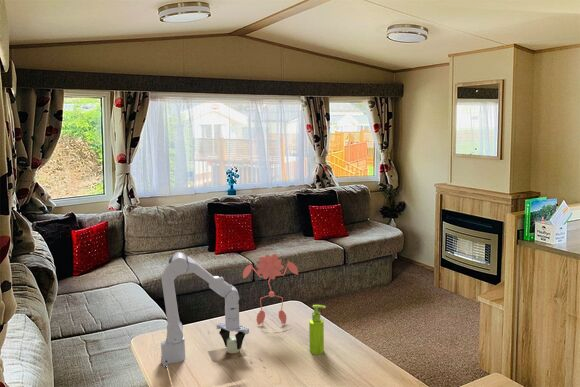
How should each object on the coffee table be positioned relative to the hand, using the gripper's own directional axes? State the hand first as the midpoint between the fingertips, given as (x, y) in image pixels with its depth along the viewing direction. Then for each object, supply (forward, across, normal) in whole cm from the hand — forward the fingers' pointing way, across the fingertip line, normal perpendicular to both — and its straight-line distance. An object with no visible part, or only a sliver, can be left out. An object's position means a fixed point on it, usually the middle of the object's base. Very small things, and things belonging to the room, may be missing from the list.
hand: (233, 347), depth 203 cm
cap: (+1, 0, 0) cm, 1 cm away
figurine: (+3, -3, -30) cm, 30 cm away
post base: (+3, +1, +3) cm, 4 cm away
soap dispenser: (+3, -32, -15) cm, 35 cm away
